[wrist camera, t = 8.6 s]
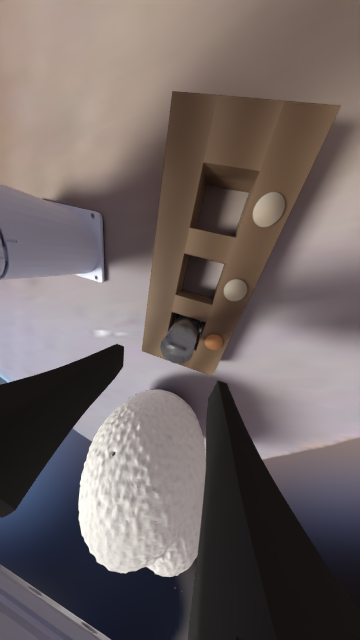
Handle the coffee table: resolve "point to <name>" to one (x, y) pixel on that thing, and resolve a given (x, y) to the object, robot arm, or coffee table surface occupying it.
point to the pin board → (231, 173)
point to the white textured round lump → (145, 486)
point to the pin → (180, 340)
